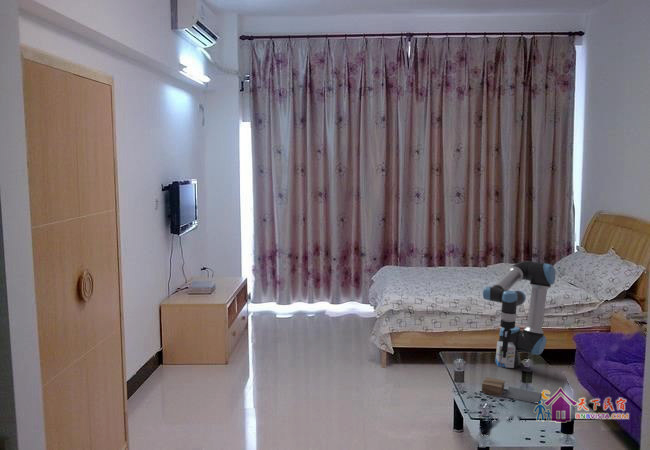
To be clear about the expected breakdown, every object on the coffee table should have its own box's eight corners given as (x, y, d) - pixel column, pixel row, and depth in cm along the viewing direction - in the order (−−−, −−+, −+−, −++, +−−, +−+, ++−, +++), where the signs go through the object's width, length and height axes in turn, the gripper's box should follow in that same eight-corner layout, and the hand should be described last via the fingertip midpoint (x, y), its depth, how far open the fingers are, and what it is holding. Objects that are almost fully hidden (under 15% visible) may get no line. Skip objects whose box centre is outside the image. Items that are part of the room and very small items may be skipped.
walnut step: (485, 385, 324) (486, 377, 323) (504, 389, 319) (504, 380, 319) (481, 392, 315) (482, 383, 314) (500, 396, 311) (501, 387, 310)
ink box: (497, 366, 310) (499, 345, 309) (495, 361, 319) (496, 340, 317) (514, 368, 309) (515, 347, 307) (511, 362, 317) (512, 341, 316)
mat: (509, 387, 322) (509, 386, 322) (541, 394, 314) (541, 393, 314) (504, 397, 310) (504, 396, 310) (537, 404, 302) (537, 403, 302)
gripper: (503, 313, 322) (500, 352, 325) (498, 324, 302) (495, 365, 305) (517, 315, 319) (514, 354, 322) (513, 326, 299) (510, 368, 302)
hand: (505, 359), depth 313 cm, fingers closed on ink box, 10 cm apart
